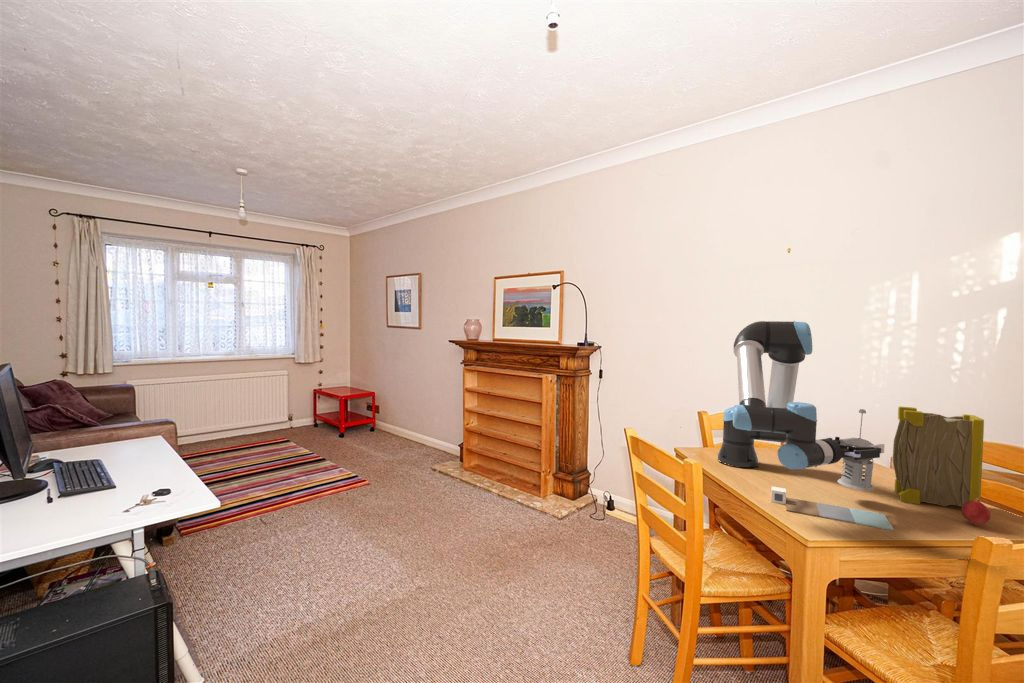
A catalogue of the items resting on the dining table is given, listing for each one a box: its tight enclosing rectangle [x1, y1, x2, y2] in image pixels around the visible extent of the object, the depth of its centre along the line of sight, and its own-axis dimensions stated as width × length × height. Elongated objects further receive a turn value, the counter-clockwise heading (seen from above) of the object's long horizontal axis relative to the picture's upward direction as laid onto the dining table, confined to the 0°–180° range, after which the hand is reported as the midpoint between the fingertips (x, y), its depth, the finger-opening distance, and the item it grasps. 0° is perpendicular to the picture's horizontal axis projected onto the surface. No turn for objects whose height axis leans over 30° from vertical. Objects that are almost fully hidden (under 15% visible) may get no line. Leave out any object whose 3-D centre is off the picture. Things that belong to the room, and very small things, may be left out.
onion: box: [961, 498, 992, 527], centre depth 129 cm, size 6×6×8 cm
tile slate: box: [816, 501, 855, 524], centre depth 136 cm, size 8×12×1 cm
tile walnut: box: [785, 496, 821, 518], centre depth 141 cm, size 8×12×1 cm
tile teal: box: [848, 507, 894, 531], centre depth 132 cm, size 8×12×1 cm
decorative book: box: [892, 405, 985, 508], centre depth 146 cm, size 20×11×30 cm, turn 58°
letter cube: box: [770, 485, 787, 506], centre depth 145 cm, size 4×4×4 cm
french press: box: [837, 408, 876, 492], centre depth 144 cm, size 10×12×25 cm
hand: (868, 444), depth 146 cm, fingers closed on french press, 8 cm apart
